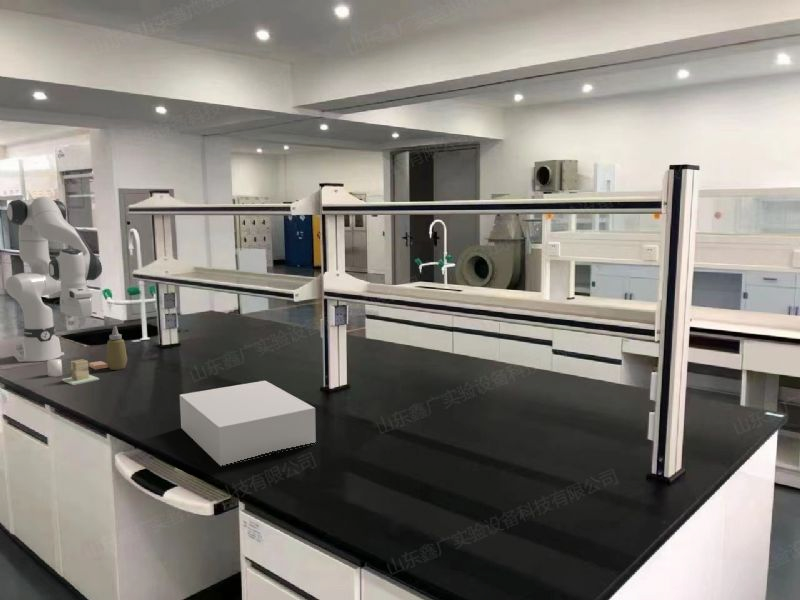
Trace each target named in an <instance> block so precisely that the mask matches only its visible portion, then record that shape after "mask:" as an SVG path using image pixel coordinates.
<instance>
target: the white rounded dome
mask: <svg viewBox="0 0 800 600" xmlns="http://www.w3.org/2000/svg"><path fill="white" fill-rule="evenodd" d="M46 365H47V375H48V377H50V378H52V377H59V376H63V364H62V359H61V358H56V359H51V360H46Z"/></svg>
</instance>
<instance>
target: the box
mask: <svg viewBox="0 0 800 600" xmlns="http://www.w3.org/2000/svg"><path fill="white" fill-rule="evenodd" d="M179 410H180V426H181V427H180V428H181V429H182V430H183V431H184V432H185V433H186V434H187V435H188V436H189V437H190V438H191V439H193V441H194V442H195V443H196V444H197V445H198V446H199V447H200V448H201V449H202V450H203V451H204V452H206V453H207V455H208V456H210V457H211V458H212V460H213V461H215V462H216V463H217V464H218V465H219V466H220V467H223V466H227V465H226V464H228V465H231V464H230V463H232V464H235V463H234V462H236V463H238V462H237V461H240V460H244V459H247V458H251V457H255V456H258V455H261V454H265V453H269V452H272V451H277V450H281V449H286V448H291V447H296V446H300V445H305V444H310V443H315V442H316V443H317V439H316V438H317V437H316V435H317V434H316V431H317V430H316V408H315V407H314V406H312V405H311V404H309V403H307V402H305V401H304V400H302V399H299V398H298V397H296V396H295V395H292V394H291V393H289V392H287V391H285V390H283V389H282V388H280V387H278V386H276V385H274V384H273V383H270V382H269V381H267V380H259V381H255V382H249V383H241V384H236V385H231V386H224V387H218V388H211V389H207V390H200V391H199V390H198V391H192V392H188V393H187V392H186V393H182V394H179ZM316 443H315V444H316ZM244 461H245V460H244ZM240 462H241V461H240ZM222 465H223V466H222Z"/></svg>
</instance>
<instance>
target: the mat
mask: <svg viewBox="0 0 800 600" xmlns="http://www.w3.org/2000/svg"><path fill="white" fill-rule="evenodd" d="M99 380H100V378H99V377H97V376H94V375H92V374H89V379H84V380H79V381H76V380H74V379H72V376H71V377H67V378H62V379H61V381H62V382H64V383H67V384H69V385H71V386H75V385H81V384H85V383H92V382H95V381H99Z"/></svg>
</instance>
